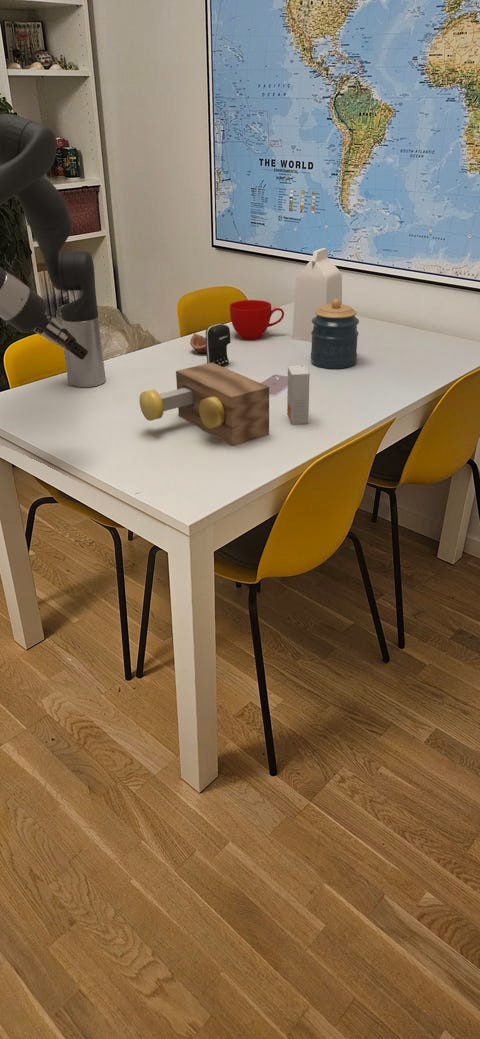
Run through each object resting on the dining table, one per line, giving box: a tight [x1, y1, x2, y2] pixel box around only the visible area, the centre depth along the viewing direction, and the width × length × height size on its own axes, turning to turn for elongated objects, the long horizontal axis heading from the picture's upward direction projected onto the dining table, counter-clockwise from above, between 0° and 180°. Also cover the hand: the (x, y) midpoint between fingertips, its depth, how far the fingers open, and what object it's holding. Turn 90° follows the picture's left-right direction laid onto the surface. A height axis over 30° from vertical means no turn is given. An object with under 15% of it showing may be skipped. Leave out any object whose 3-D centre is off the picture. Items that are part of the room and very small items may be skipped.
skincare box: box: [286, 365, 311, 425], centre depth 163 cm, size 6×4×12 cm
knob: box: [139, 387, 194, 422], centre depth 161 cm, size 15×6×6 cm, turn 126°
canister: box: [310, 299, 360, 370], centre depth 198 cm, size 13×13×18 cm
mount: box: [175, 362, 270, 447], centre depth 161 cm, size 13×22×11 cm, turn 36°
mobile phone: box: [260, 374, 288, 398], centre depth 186 cm, size 8×1×15 cm
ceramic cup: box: [229, 299, 285, 341], centre depth 224 cm, size 13×17×10 cm
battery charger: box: [205, 323, 231, 367], centre depth 198 cm, size 7×4×11 cm, turn 138°
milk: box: [291, 247, 343, 343], centre depth 219 cm, size 12×12×26 cm
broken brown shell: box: [189, 333, 207, 354], centre depth 212 cm, size 8×7×5 cm
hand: (83, 355), depth 144 cm, fingers closed
